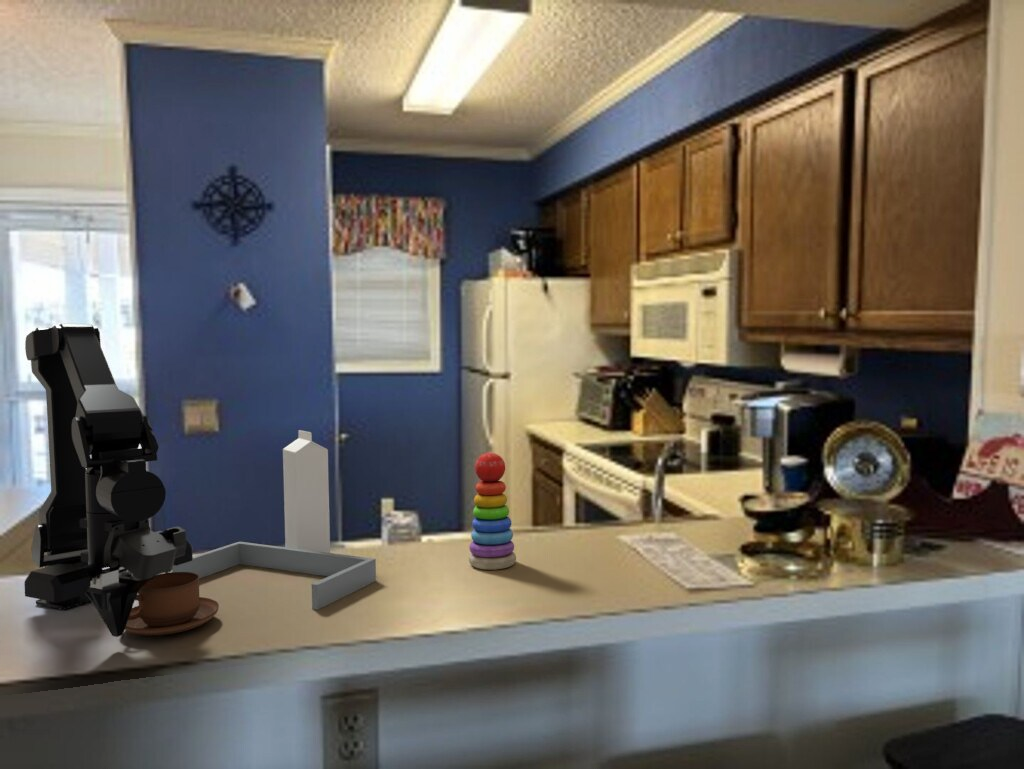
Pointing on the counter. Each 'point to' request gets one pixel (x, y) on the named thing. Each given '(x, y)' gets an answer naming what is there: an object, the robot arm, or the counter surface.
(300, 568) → the u-shaped low fence
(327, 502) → the milk
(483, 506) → the stacking toy
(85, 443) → the robot arm
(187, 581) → the cup and saucer
